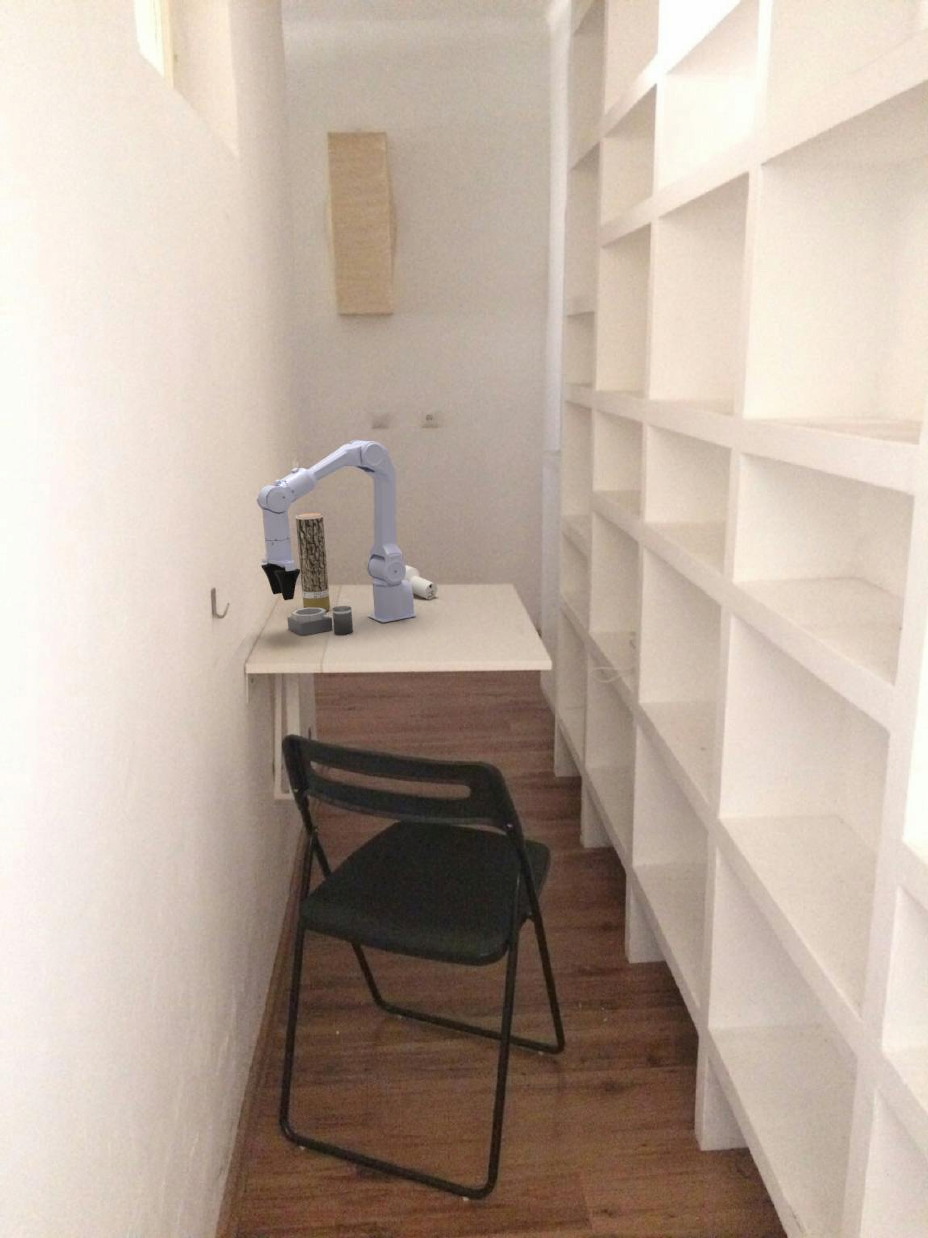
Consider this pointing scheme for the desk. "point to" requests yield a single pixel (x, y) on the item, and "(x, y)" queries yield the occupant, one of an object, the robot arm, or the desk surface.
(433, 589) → the spotlight
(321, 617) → the mount
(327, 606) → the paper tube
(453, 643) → the desk surface
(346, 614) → the lens
